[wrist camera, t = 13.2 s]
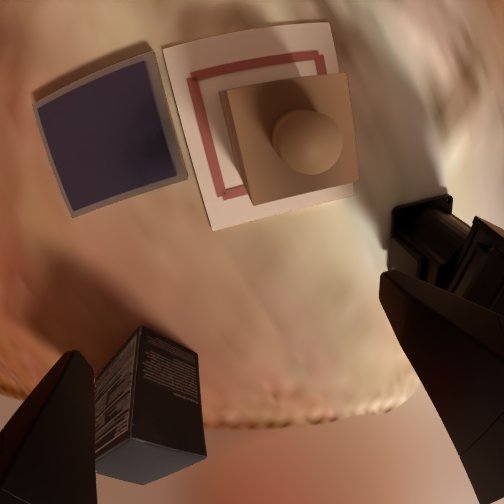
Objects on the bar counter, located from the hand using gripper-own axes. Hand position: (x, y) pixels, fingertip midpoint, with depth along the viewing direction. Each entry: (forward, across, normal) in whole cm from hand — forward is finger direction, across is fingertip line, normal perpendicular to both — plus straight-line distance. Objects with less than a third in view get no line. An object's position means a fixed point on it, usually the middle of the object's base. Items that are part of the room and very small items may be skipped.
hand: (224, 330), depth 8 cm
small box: (+13, +11, +15) cm, 23 cm away
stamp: (+12, -4, -3) cm, 13 cm away
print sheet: (+12, -4, -3) cm, 14 cm away
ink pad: (+12, +5, -5) cm, 14 cm away
